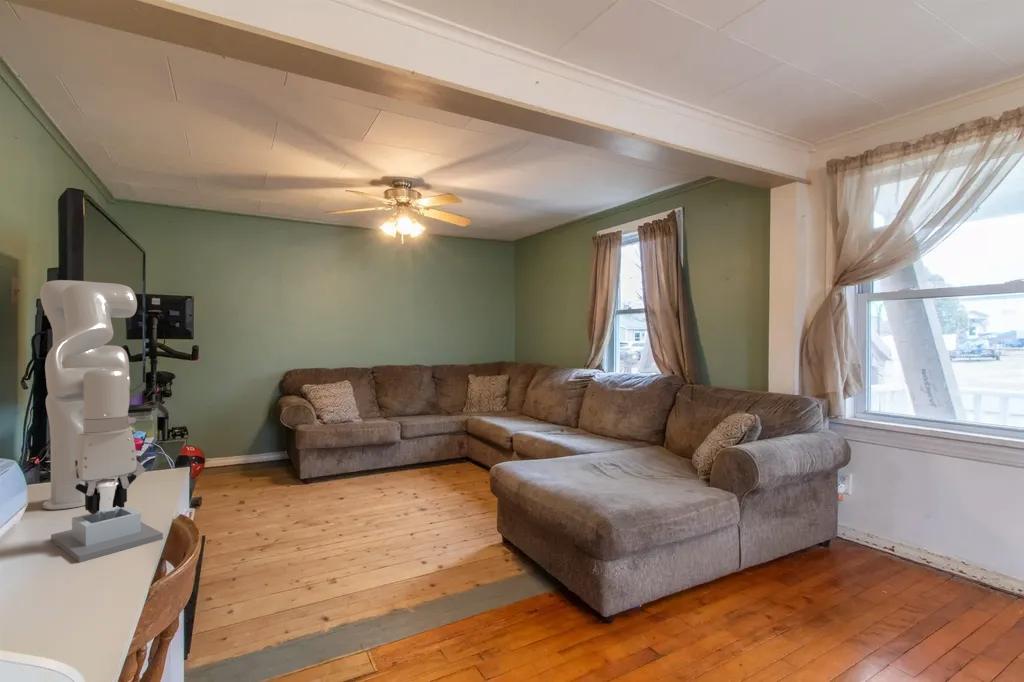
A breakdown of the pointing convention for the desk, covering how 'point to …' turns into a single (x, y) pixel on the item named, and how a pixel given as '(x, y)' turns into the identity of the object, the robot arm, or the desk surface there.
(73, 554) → the housing
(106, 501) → the milkshake
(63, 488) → the robot arm
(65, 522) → the desk surface
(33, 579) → the desk surface
